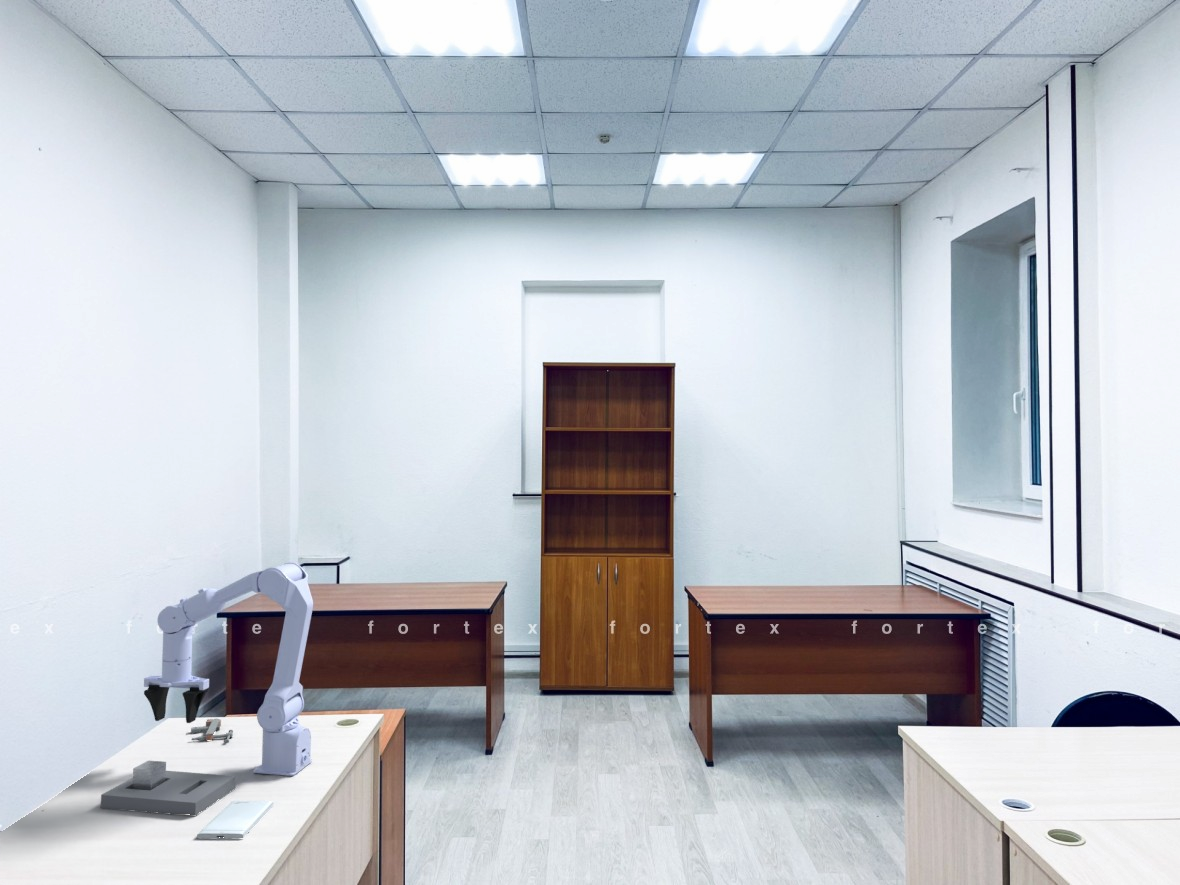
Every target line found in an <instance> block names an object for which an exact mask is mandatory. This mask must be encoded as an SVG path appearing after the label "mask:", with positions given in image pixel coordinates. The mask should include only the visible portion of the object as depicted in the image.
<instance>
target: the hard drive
mask: <svg viewBox="0 0 1180 885" xmlns="http://www.w3.org/2000/svg"><path fill="white" fill-rule="evenodd" d="M271 808H272V809H273V808H274V801H272V800H233V801H231V802H230V803H229V804H228V805H227V806H225V808H223V810H221V811H220V812H219V813H218V814H217V815H216V816H215V817H214V818H212V819H211V820H210V822H209V823H208V824H206V825H205V827H203V829H201V830H200V831H199V832H198V833H197V834H196V839H197V838H219V837H220V838H223V837H224V838H244V837H245V835H246V836H248V834H249V833H250V832H251V831H252V830H253V829H254V828H255V827H256V826H257V825H258V824H259V823H260V822H259V821H261V820H262V819H263V818H264V817H265V816H266V815H267V814H268V813H269V812H270V811H271V810H272V809H271ZM270 809H271V810H270ZM269 810H270V811H269ZM268 811H269V812H268ZM267 812H268V813H267ZM266 813H267V814H266ZM265 814H266V815H265ZM264 815H265V816H264ZM263 816H264V817H263ZM262 817H263V818H262ZM261 818H262V819H261ZM258 822H259V823H258ZM257 823H258V824H257ZM256 824H257V825H256ZM255 825H256V826H255ZM254 826H255V827H254ZM253 827H254V828H253ZM252 828H253V829H252ZM251 829H252V830H251ZM250 830H251V831H250ZM249 831H250V832H249ZM248 832H249V833H248ZM247 833H248V834H247ZM244 839H245V838H244Z"/></svg>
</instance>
